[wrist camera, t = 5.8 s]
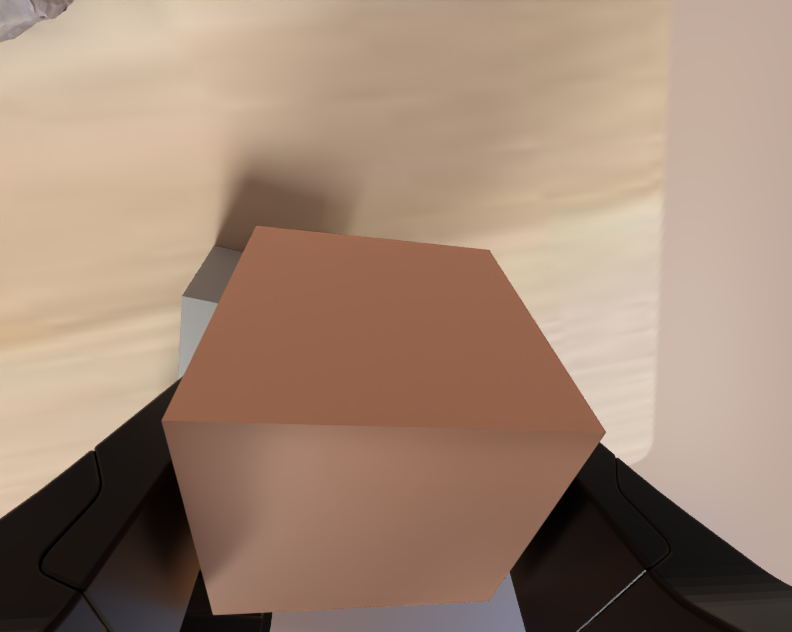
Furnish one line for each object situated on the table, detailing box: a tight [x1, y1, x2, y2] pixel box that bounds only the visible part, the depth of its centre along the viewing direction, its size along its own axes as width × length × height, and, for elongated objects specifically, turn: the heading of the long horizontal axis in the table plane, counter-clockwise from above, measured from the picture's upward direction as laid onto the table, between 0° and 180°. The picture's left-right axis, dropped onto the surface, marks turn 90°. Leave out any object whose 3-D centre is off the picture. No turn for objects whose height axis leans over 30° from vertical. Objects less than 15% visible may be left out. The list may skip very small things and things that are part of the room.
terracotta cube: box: [162, 226, 606, 615], centre depth 8 cm, size 5×5×5 cm
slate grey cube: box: [178, 245, 243, 380], centre depth 21 cm, size 5×5×5 cm
